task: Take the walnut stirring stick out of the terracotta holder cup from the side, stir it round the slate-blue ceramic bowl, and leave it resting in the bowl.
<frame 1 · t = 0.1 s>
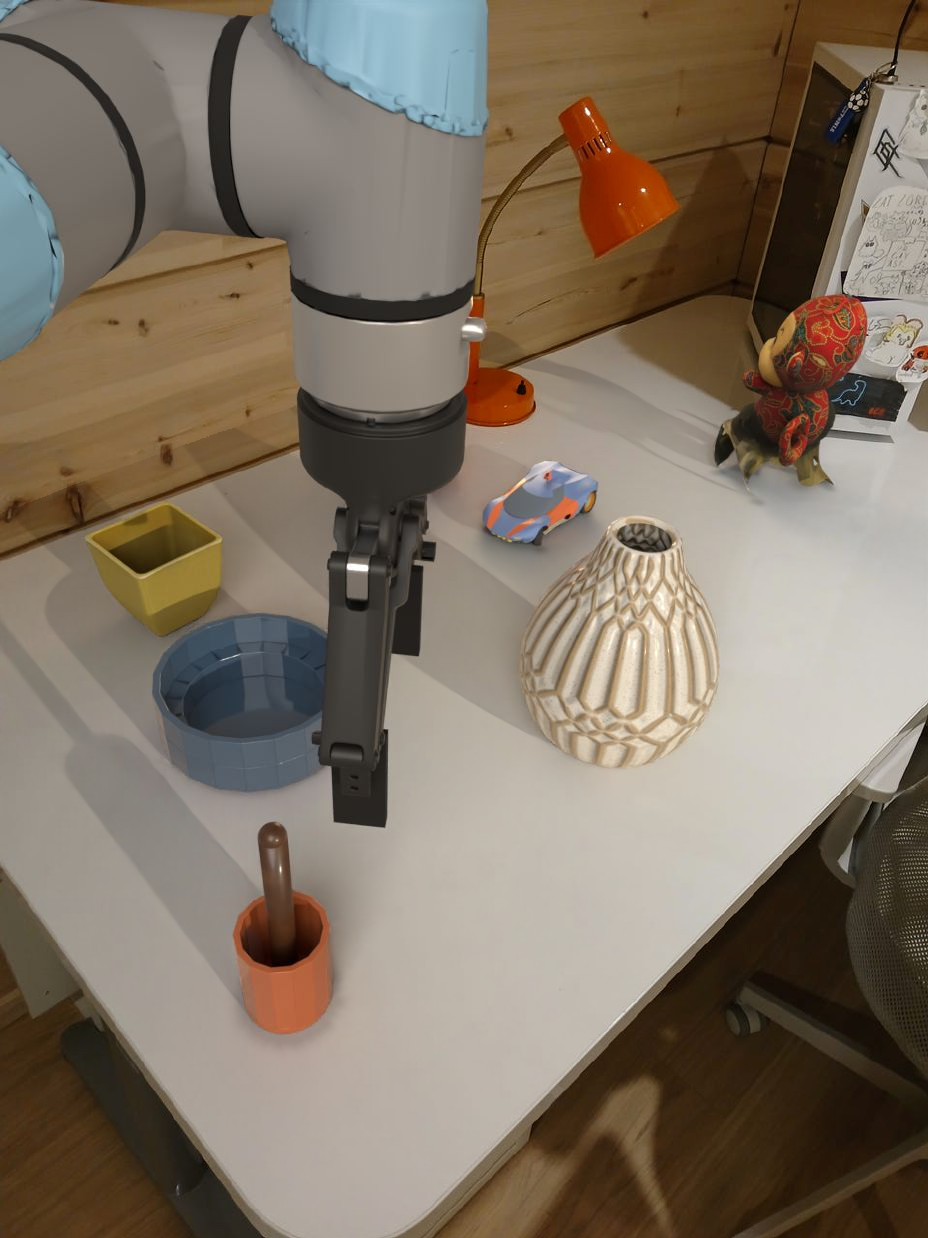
hand: (381, 727, 55), 18 cm above the table, tool pointing down, fingers open, 13 cm apart
vase: (604, 730, 82), on the table
holder: (288, 992, 62), on the table
bowl: (257, 726, 80), on the table
pomegranate: (420, 468, 115), on the table
flower pot: (168, 617, 91), on the table
stuffed monkey: (768, 484, 117), on the table
stick: (287, 987, 62), point 1 cm above the table, touching holder
toy car: (534, 520, 107), on the table
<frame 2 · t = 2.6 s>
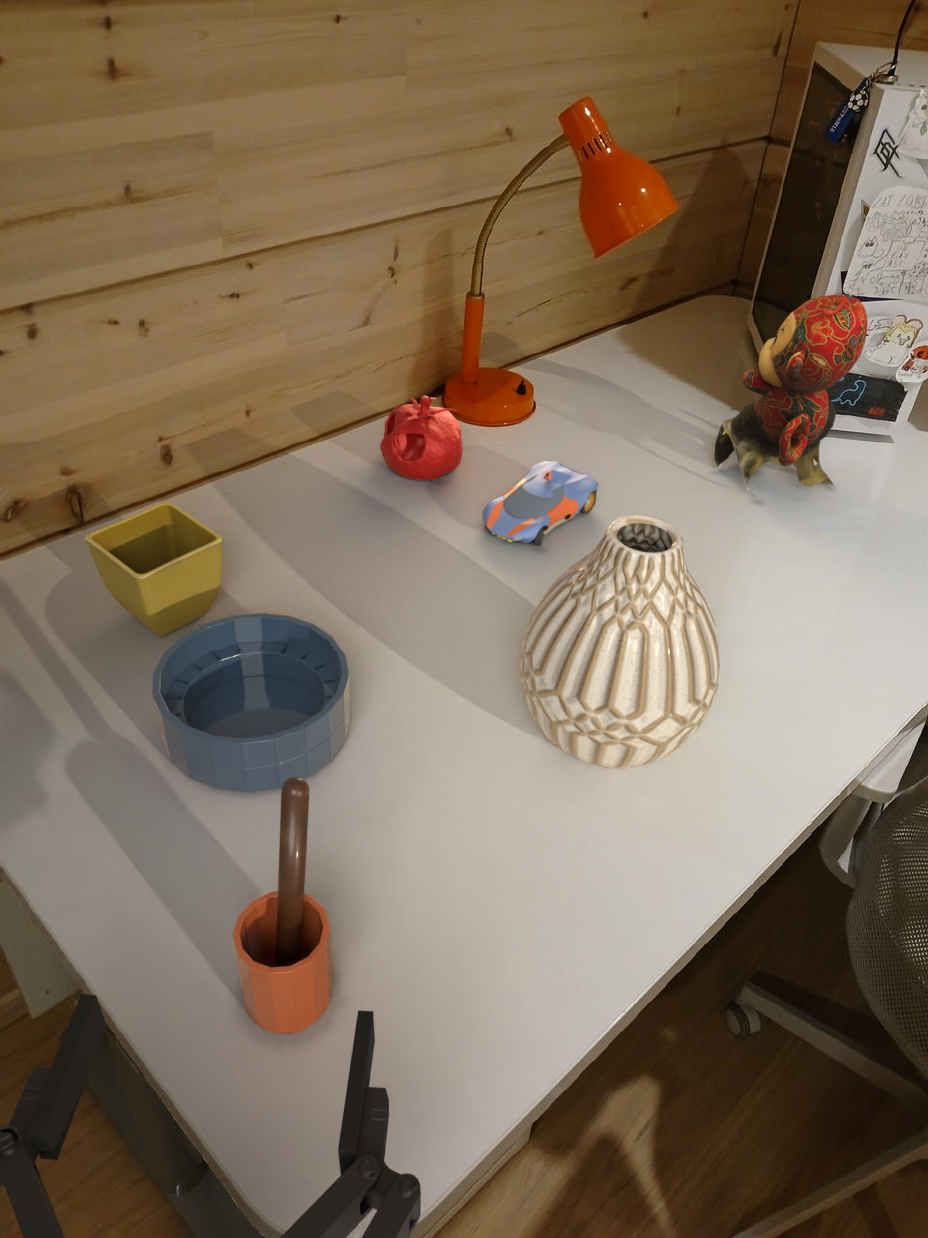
hand: (230, 1017, 48), 12 cm above the table, tool horizontal, fingers open, 13 cm apart
stick: (287, 988, 61), point 1 cm above the table, tilted 15°, touching holder
everything else where it was.
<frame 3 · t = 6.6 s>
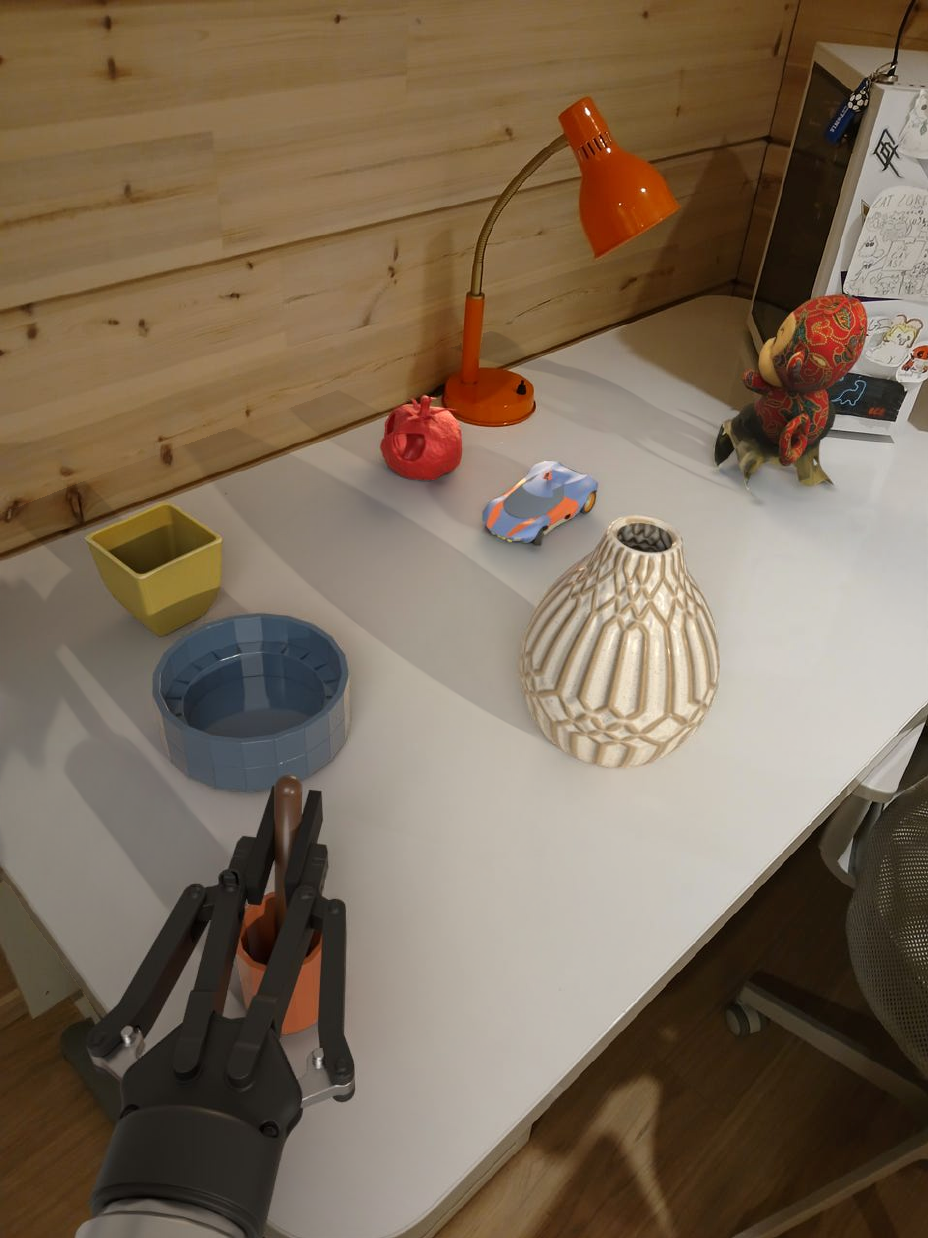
hand: (297, 803, 59), 12 cm above the table, tool horizontal, fingers closed on stick, 1 cm apart
stick: (287, 988, 61), point 1 cm above the table, tilted 15°, touching gripper, holder
everything else where it was.
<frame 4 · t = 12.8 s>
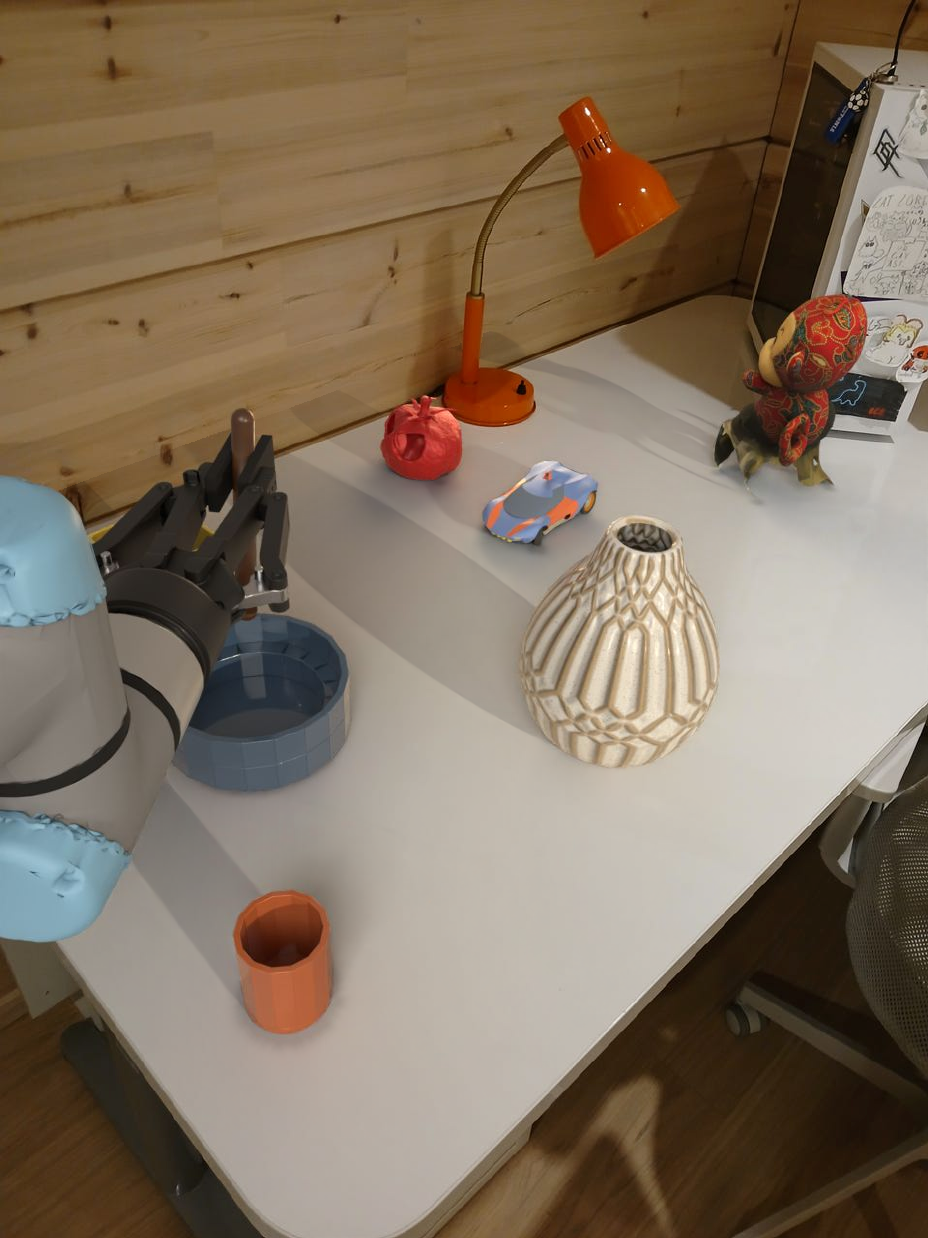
hand: (253, 450, 70), 23 cm above the table, tool horizontal, fingers closed on stick, 1 cm apart
stick: (246, 620, 73), point 12 cm above the table, tilted 15°, touching gripper
everything else where it was.
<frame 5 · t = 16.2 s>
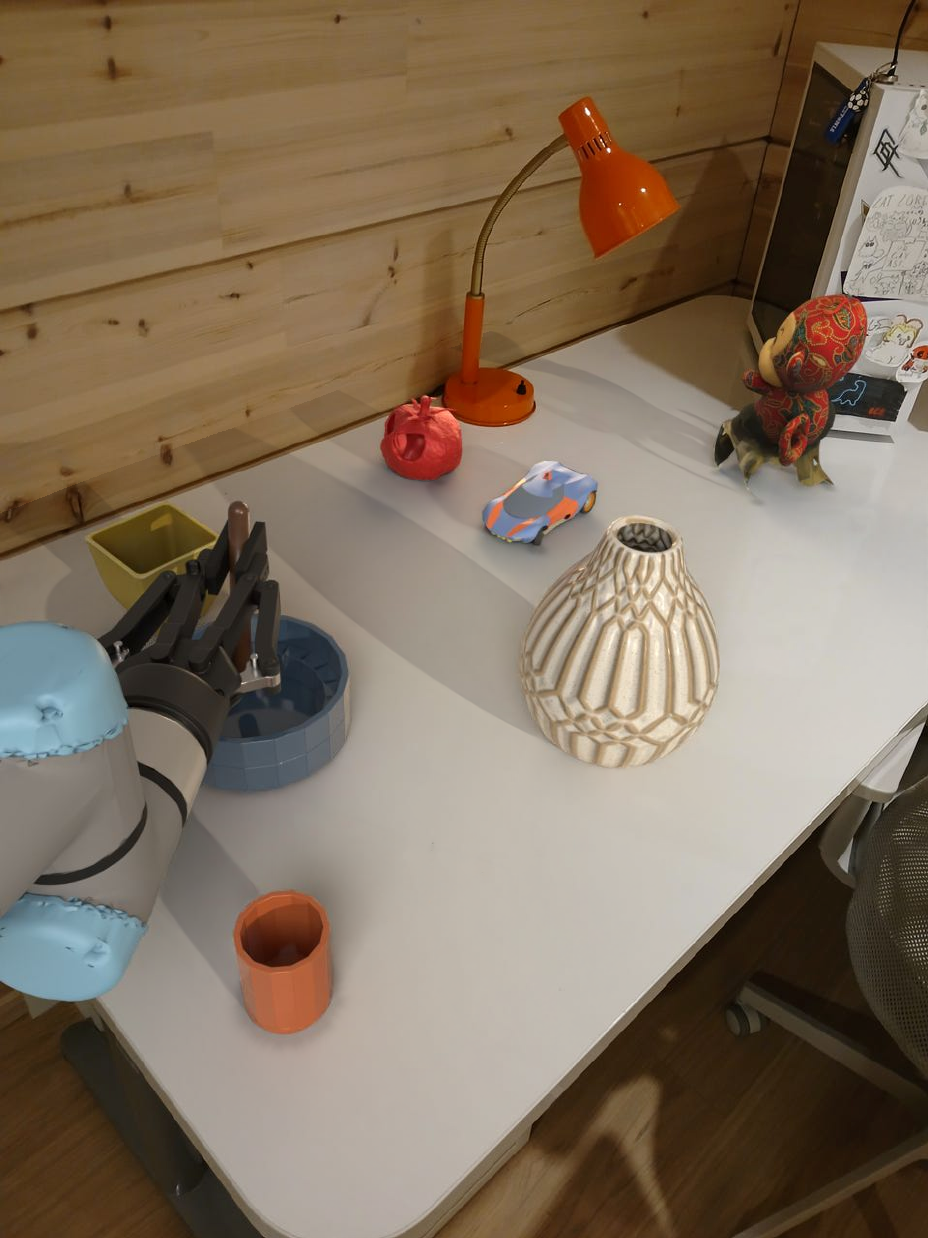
hand: (247, 534, 77), 14 cm above the table, tool horizontal, fingers closed on stick, 1 cm apart
stick: (241, 685, 80), point 3 cm above the table, tilted 15°, touching gripper
everything else where it was.
when the fingers open (12 cm above the table, at t = 18.9 s): stick stays where it is and tips over, resting on bowl.
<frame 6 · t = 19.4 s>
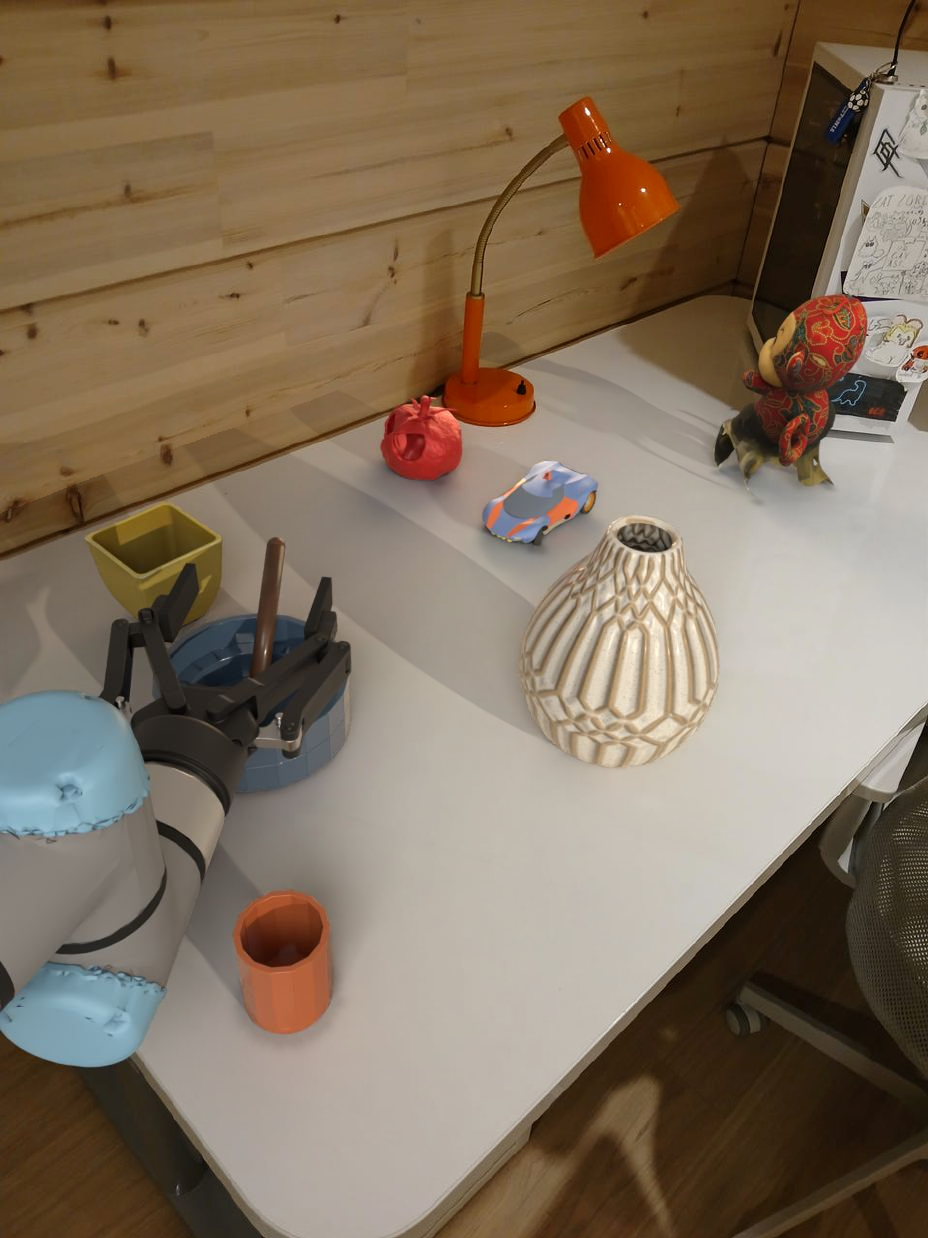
hand: (260, 583, 76), 12 cm above the table, tool horizontal, fingers open, 10 cm apart
stick: (253, 723, 79), point 1 cm above the table, tilted 51°, touching bowl
everything else where it was.
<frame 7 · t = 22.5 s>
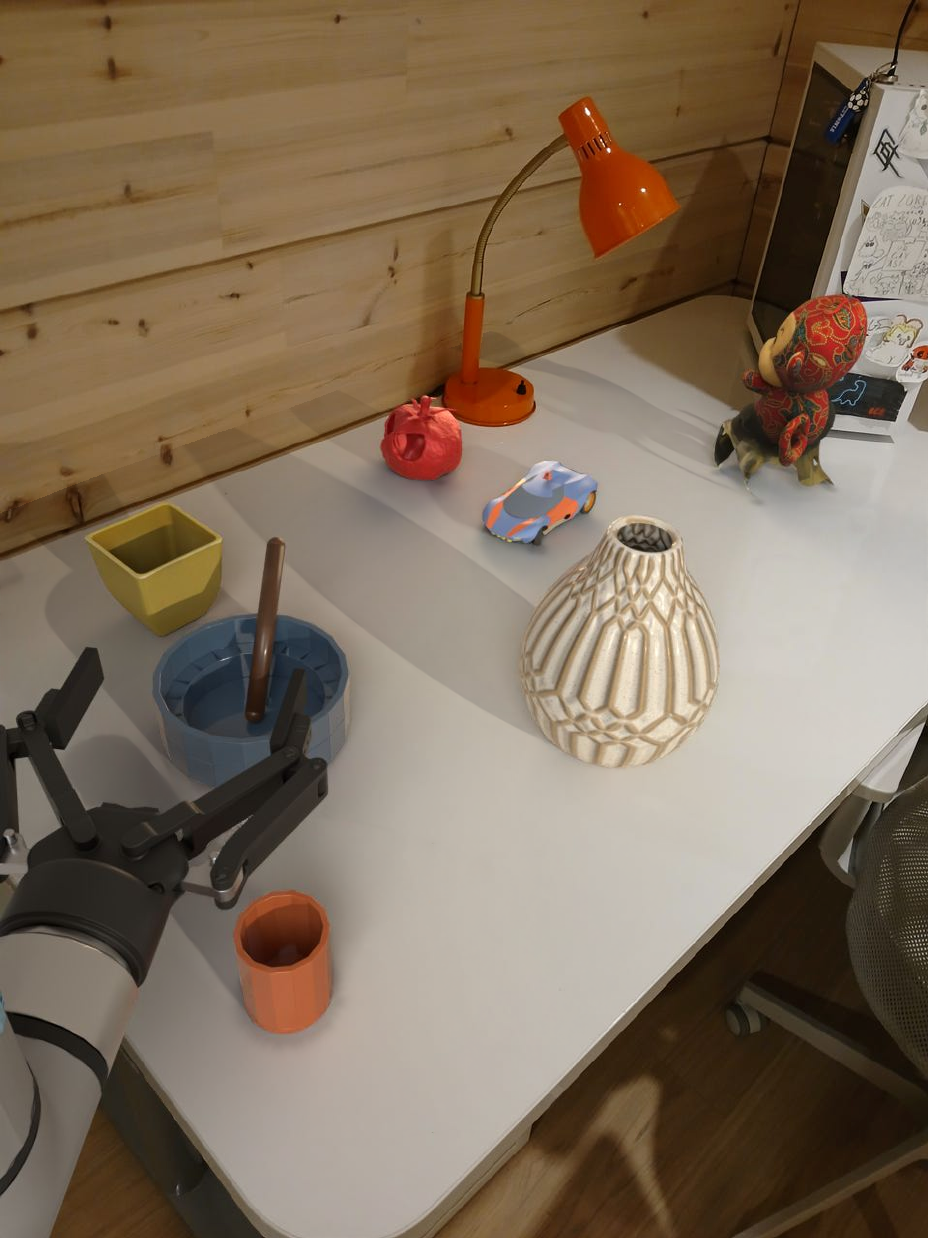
hand: (197, 672, 63), 15 cm above the table, tool horizontal, fingers open, 13 cm apart
nothing on the table moved.
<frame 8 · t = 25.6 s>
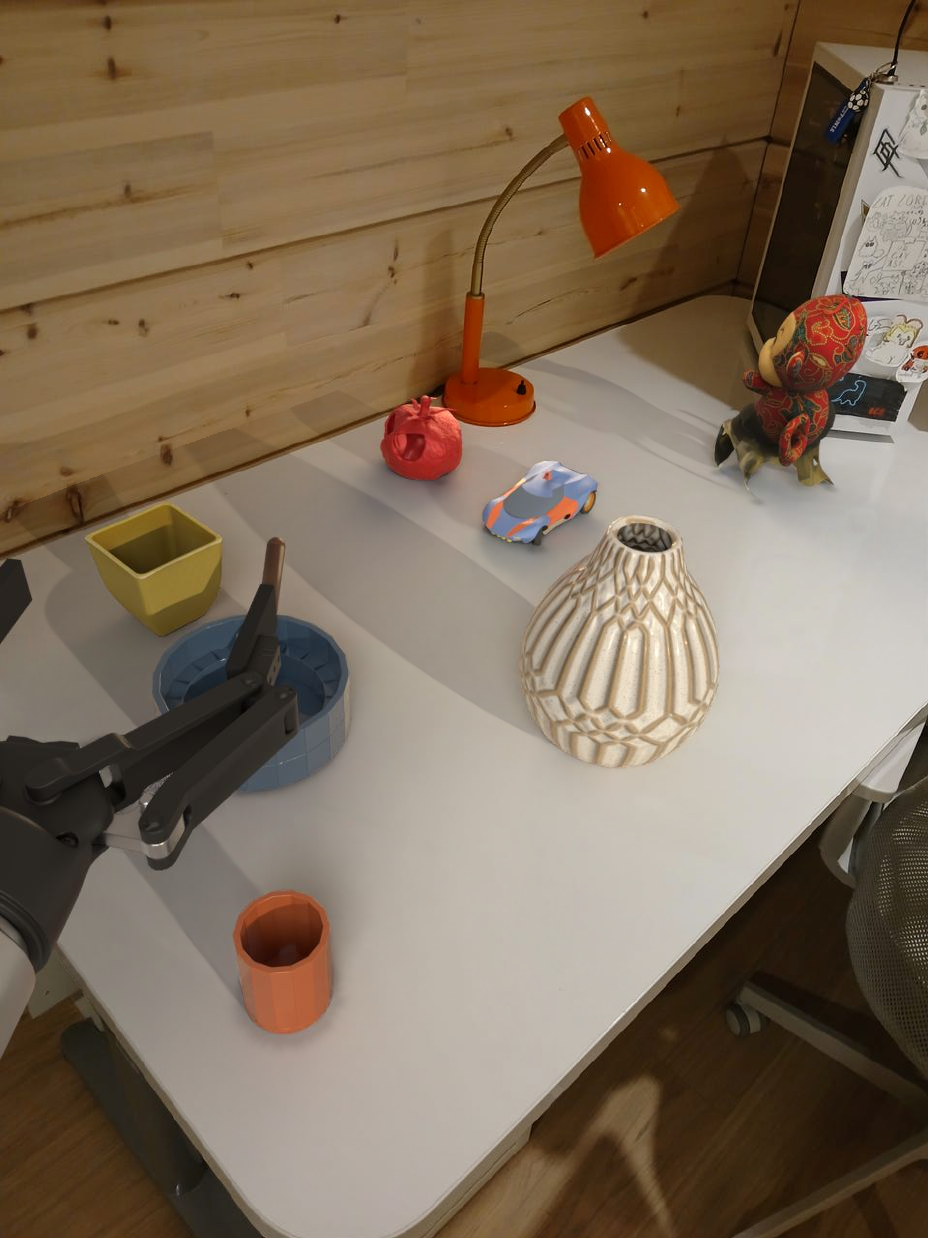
hand: (144, 591, 52), 26 cm above the table, tool horizontal, fingers open, 13 cm apart
nothing on the table moved.
at the end: stick inside the target area in the bowl (0.5 cm from its centre), point 0.9 cm above the bowl's base; the gripper is holding nothing; stick moved 23.9 cm from its start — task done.
